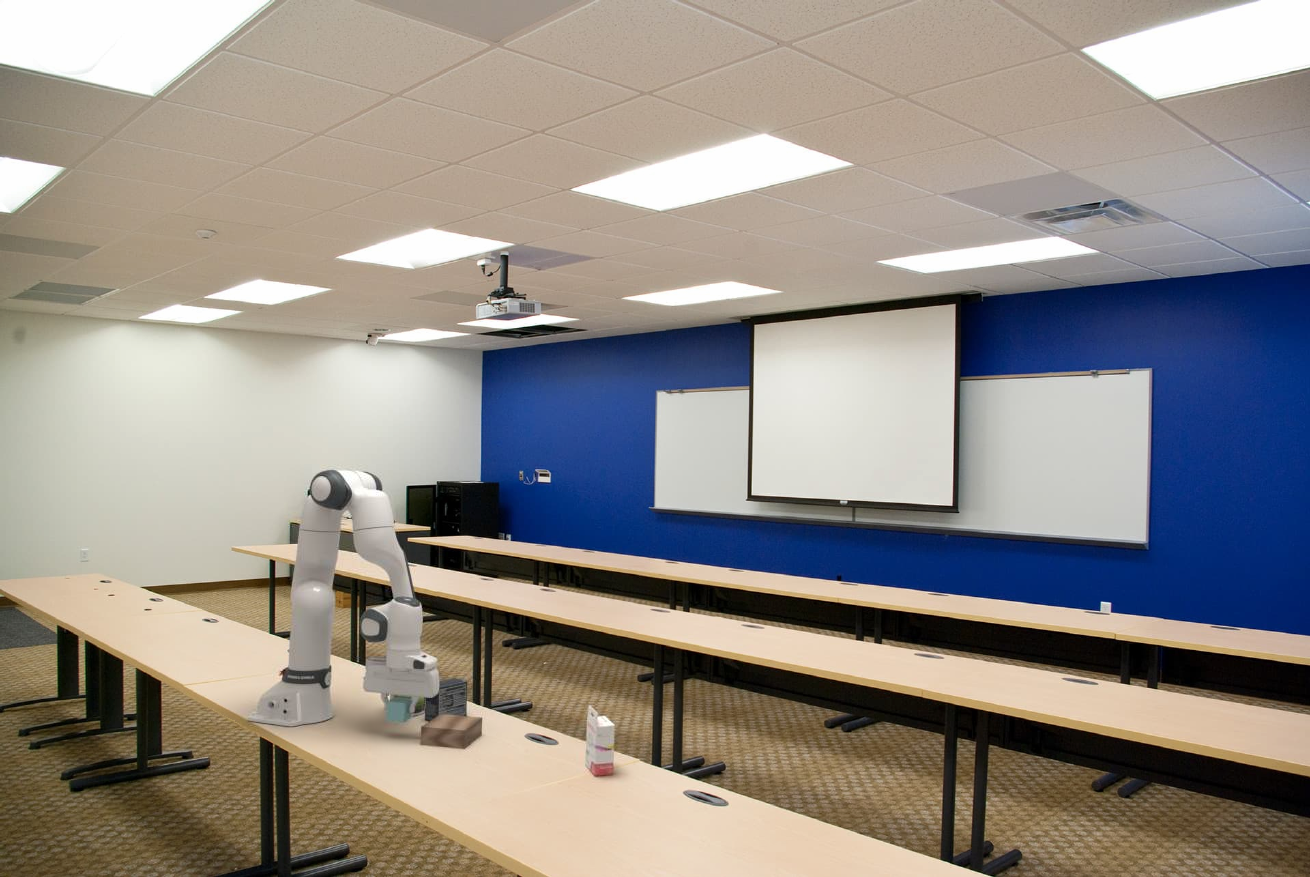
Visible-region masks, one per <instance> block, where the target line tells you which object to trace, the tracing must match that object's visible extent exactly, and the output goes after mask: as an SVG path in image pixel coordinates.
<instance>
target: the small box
mask: <svg viewBox="0 0 1310 877" xmlns="http://www.w3.org/2000/svg"><path fill="white" fill-rule="evenodd" d="M467 701H468V680H465V679H461V678H458V677H453V678H449V679H443V680H439V692H438V694H437V695H436V696H434V697H432V698H426V697H425V712H424V721H426V722H427V723H428V722H429V721H431V720H432V719H434V718H435V717H437V716H438V715H440V714H447V715H459V716H468V713H467V711H468V710H467V708H468V707H467V703H468V702H467Z"/></svg>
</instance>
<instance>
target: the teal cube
mask: <svg viewBox="0 0 1310 877" xmlns="http://www.w3.org/2000/svg"><path fill="white" fill-rule="evenodd" d="M412 702H413V700H412V699H409V698H398V697H395V698H393V699H391V700H390V699H389V701H388V702H387V709H386V710H385V721H386V722H391V723H393V722H394V723H405V722H407V721H408V720H411V718H412V717H413V716H412V713H407V710H408V709H407V706H409V705H411V704H412Z"/></svg>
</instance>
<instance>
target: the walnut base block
mask: <svg viewBox="0 0 1310 877" xmlns="http://www.w3.org/2000/svg"><path fill="white" fill-rule="evenodd" d="M420 728H421V729H420V746H428V747H429V746H431V747H439V748H440V747H442V748H451V749H461V750H462V749H463V750H465V749H466V748H467V747H468V746H470V745H471V744H472V743H474V742H475V741H476V740H477V739H479V738H480V737H481V736H482V735H483V734H482V733H483V717H480V716H479V717H478V716H471V715H467V716H459V715H447V714H440V715H438V716H437V717H435V718H434V719H432V720H431V721H429V722H428V721H427V722H426V723H424V724H423V725H421V726H420Z"/></svg>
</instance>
